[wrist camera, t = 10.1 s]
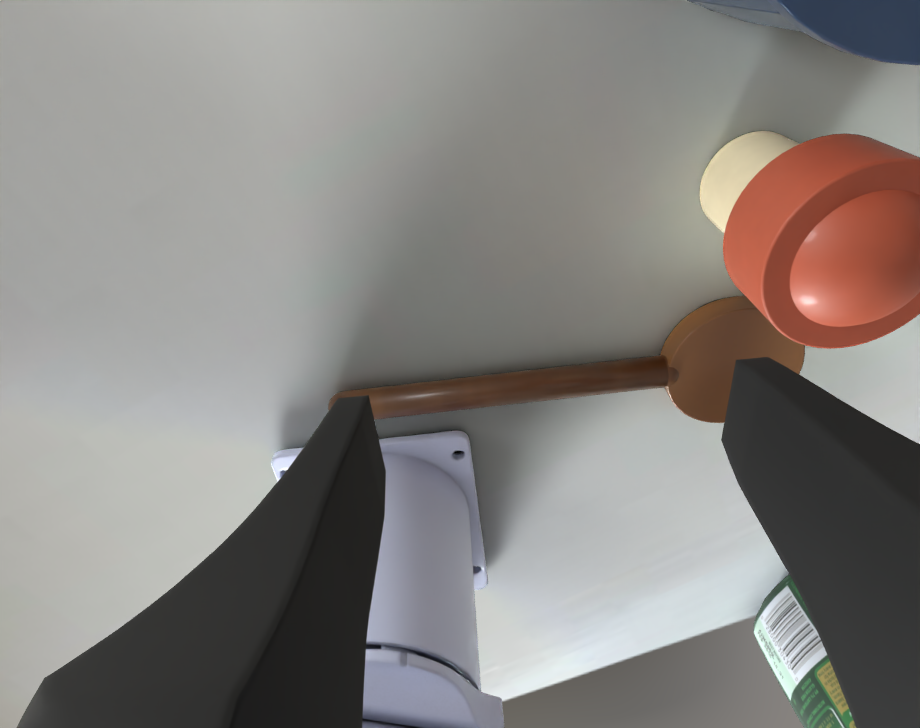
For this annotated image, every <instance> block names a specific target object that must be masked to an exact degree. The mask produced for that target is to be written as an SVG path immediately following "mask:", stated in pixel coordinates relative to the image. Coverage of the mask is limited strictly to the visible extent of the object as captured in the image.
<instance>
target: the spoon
mask: <svg viewBox="0 0 920 728" xmlns="http://www.w3.org/2000/svg"><path fill="white" fill-rule="evenodd" d="M804 355H805V346H804V345H803V344H800V343H797V342H795V341H793V340H791V339H789V338H787V337H786V336H784V335H783V334H782V333H780V332H779V331H778V330H777V329H776V328H775V327H774V326H773V325H772V324H771V323H770V322H769V320H768V319H767V318H766V317H765V316H764V315H763V314H762V313H761V312H760V311H759V310H758V309H757V308H756V307H755V306H754V305H753V304H752V302H751V301H750V300H749V299H748V298H747V297H746V296H736V297H728V298H723V299H720V300H716V301H713V302H711V303H708V304H706V305H704V306H702V307H700V308H698V309H696V310H695V311H693V312H692V313H690V314H689V315H688V316H686V317H685V318H684V319H683V320H682V321H681V322H680V323H679V324H678V325H677V326H676V327H675V328H674V329H673V331H672V332H671V333H670V335H669V336H668V338H667V339H666V341H665V343H664V345H663V348H662V351H661V354H660V355H658V356H649V357H640V358H632V359H623V360H614V361H605V362H596V363H587V364H579V365H570V366H561V367H552V368H543V369H534V370H526V371H517V372H508V373H499V374H490V375H481V376H473V377H464V378H455V379H446V380H437V381H429V382H420V383H411V384H402V385H393V386H384V387H376V388H367V389H358V390H349V391H341V392H338V393H336V394H335V395H334V396H333V397H332V398H331V399H330V401H329V405H328V410H330V408H331V407H332V405H333V404H334V403H335V402H336V400H337V399H338V398H345V397H355V396H366V395H369V399H370V403H371V408H372V412H373V416H374V420H376V419H385V418H394V417H403V416H412V415H421V414H430V413H439V412H448V411H457V410H466V409H475V408H483V407H492V406H501V405H510V404H519V403H528V402H537V401H546V400H555V399H564V398H573V397H582V396H591V395H600V394H609V393H618V392H627V391H635V390H644V389H653V388H662V387H665V389H666V391H667V393H668V395H669V397H670V398H671V400H672V402H673V403H674V404H675V406H676V407H677V408H678V409H679V410H680V411H682V412H683V413H684V414H686V415H688V416H690V417H692V418H694V419H697V420H700V421H704V422H711V423H724V422H725V417H726V412H727V406H728V401H729V395H730V390H731V384H732V379H733V373H734V368H735V363H736V360H740V359H750V358H761V357H769V358H771V359H773V360H775V361H777V362H778V363H780V364H782V365H784V366H785V367H787V368H789V369H790V370H792V371H794V372H795V373H797V374H799V373H800V371H801V369H802V365H803V362H804Z"/></svg>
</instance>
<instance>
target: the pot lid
mask: <svg viewBox="0 0 920 728" xmlns="http://www.w3.org/2000/svg"><path fill="white" fill-rule="evenodd" d="M767 1H768V2H769V3H770V4H771V5H772V6H773V7H774V8H775V9H776V10H777V11H778V12H779V13H780V14H781V15H782V16H783V17H784V18H785V19H786V20H788V21H789V22H790V23H792V24H793V25H795V26H796V27H797V28H799V29H800V30H802V31H803V32H805V33H806V34H807V35H809V36H810V37H812V38H813V39H816V40H818V41H820V42H822V43H824V44H826V45H828V46H831V47H833V48H835V49H837V50H839V51H842V52H845V53H849V54H853V55H857V56H861V57H864V58H868V59H872V60H876V61H881V62H888V63H898V64H909V65H920V0H767Z"/></svg>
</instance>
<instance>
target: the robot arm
mask: <svg viewBox="0 0 920 728" xmlns="http://www.w3.org/2000/svg"><path fill="white" fill-rule="evenodd" d="M721 440H722V443H723V445H724V448H725V451H726V453H727V456H728V459H729V461H730V464H731V467H732V469H733V471H734V474H735V476H736V479H737V481H738V484H739V486H740V487H741V489H742V491H743V493H744V495H745V497H746V498H747V500H748V502H749V504H750V506H751V507H752V509H753V511H754V513H755V515H756V516H757V518H758V520H759V522H760V523H761V525H762V527H763V529H764V530H765V532H766V534H767V536H768V537H769V539H770V541H771V543H772V544H773V546H774V548H775V550H776V552H777V553H778V555H779V557H780V559H781V560H782V562H783V564H784V566H785V567H786V569H787V571H788V573H789V574H790V576H791V578H792V580H793V581H794V583H795V585H796V587H797V589H798V591H799V593H800V595H801V597H802V599H803V601H804V603H805V605H806V607H807V609H808V612H809V614H810V616H811V619H812V621H813V623H814V625H815V628H816V630H817V632H818V635H819V637H820V639H821V641H822V644H823V646H824V648H825V651H826V653H827V655H828V658H829V660H830V663H831V665H832V668H833V670H834V673H835V675H836V678H837V680H838V682H839V685H840V687H841V690H842V692H843V695H844V697H845V700H846V702H847V705H848V707H849V710H850V713H851V715H852V718H853V721H854V723H855V726H856V728H920V444H918V443H916V442H914V441H912V440H910V439H908V438H906V437H905V436H903V435H901V434H899V433H897V432H895V431H893V430H891V429H890V428H888V427H886V426H884V425H882V424H881V423H879V422H877V421H875V420H874V419H872V418H870V417H868V416H867V415H865V414H863V413H861V412H860V411H858V410H856V409H855V408H853V407H851V406H850V405H848V404H846V403H845V402H843V401H841V400H840V399H838V398H836V397H835V396H833V395H831V394H830V393H828V392H826V391H825V390H823V389H822V388H820V387H818V386H817V385H815V384H813V383H812V382H810V381H809V380H807V379H805V378H804V377H802V376H800V375H799V374H797V373H795V372H794V371H792V370H790V369H789V368H787V367H785V366H784V365H782V364H780V363H778V362H777V361H775V360H773V359H771V358H769V357H761V358H750V359H740V360H736V363H735V368H734V373H733V379H732V384H731V390H730V395H729V401H728V406H727V412H726V417H725V423H724V428H723V434H722V439H721ZM457 450H460V451H463V453H460V454H456V453H454V452H455V451H457ZM271 464H272V468H273V471H274V473H275V476H276V479H277V483H276V484H275V486H274V487H273V488H272V489H271V490H270V492H269V493H268V494H267V495H266V497H265V498H264V499H263V500H262V501H261V503H260V504H259V505H258V506H257V507H256V508H255V510H254V511H253V512H252V513H251V514H250V515H249V516H248V517H247V518H246V520H245V521H244V522H243V523H242V524H241V525H240V526H239V527H238V528H237V529H236V530H235V531H234V532H233V533H232V534H231V535H230V536H229V537H228V538H227V539H226V540H225V541H224V542H223V543H222V544H221V545H220V546H219V547H218V548H217V549H216V550H215V551H214V552H213V553H211V554H210V555H209V556H208V557H207V558H206V559H205V560H204V561H202V562H201V563H200V564H199V565H198V566H197V567H196V568H194V569H193V570H192V571H191V572H190V573H189V574H188V575H187V576H185V577H184V578H183V579H182V580H181V581H180V582H179V583H178V584H176V585H175V586H174V587H173V588H171V589H170V590H169V591H168V592H167V593H165V594H164V595H163V596H161V597H160V598H159V599H158V600H156V601H155V602H154V603H153V604H151V605H150V606H149V607H147V608H146V609H145V610H143V611H142V612H141V613H139V614H138V615H137V616H135V617H134V618H133V619H131V620H130V621H129V622H127V623H126V624H125V625H123V626H122V627H121V628H119V629H118V630H116V631H115V632H114V633H112V634H111V635H109V636H108V637H106V638H105V639H103V640H102V641H100V642H99V643H97V644H96V645H94V646H93V647H91V648H90V649H88V650H87V651H85V652H84V653H82V654H81V655H79V656H78V657H76V658H75V659H73V660H72V661H70V662H69V663H67V664H66V665H64V666H63V667H61V668H60V669H58V670H57V671H55V672H54V673H52V674H50V675H49V676H47V677H46V678H44V680H43V682H42V683H41V685H40V686H39V688H38V690H37V692H36V693H35V695H34V697H33V698H32V700H31V702H30V704H29V705H28V707H27V709H26V711H25V713H24V715H23V716H22V718H21V720H20V722H19V724H18V726H17V728H504V718H503V708H502V699H501V698H499V697H496V696H492V695H488V694H486V693H483V692H481V683H480V668H479V653H478V638H477V624H476V609H475V594H474V590H479V589H483V588H484V587H486V586H487V584H488V575H487V568H486V560H485V553H484V545H483V538H482V530H481V523H480V515H479V508H478V500H477V493H476V485H475V478H474V470H473V463H472V455H471V447H470V440H469V437H468V435H467V434H466V433H465V432H462V431H447V432H438V433H429V434H420V435H411V436H402V437H393V438H384V439H379V438H378V434H377V430H376V425H375V421H374V416H373V412H372V408H371V403H370V399H369V395H366V396H355V397H345V398H338V399H337V400H336V402H335V403H334V404H333V405H332V407H331V408H330V410H329V411H328V413H327V414H326V416H325V417H324V419H323V420H322V422H321V423H320V425H319V426H318V428H317V429H316V431H315V432H314V434H313V435H312V436H311V438H310V439H309V441H308V442H307V444H306V445H305V446H304V447H303V448H294V449H285V450H280V451H277V452H276V453H275V454H274V456H273V458H272V461H271ZM285 469H287V471H284V470H285Z"/></svg>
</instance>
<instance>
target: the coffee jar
mask: <svg viewBox="0 0 920 728" xmlns="http://www.w3.org/2000/svg"><path fill="white" fill-rule="evenodd" d="M754 635H755V638H756V640H757V642H758V644H759V646H760V648H761V650H762V652H763V654H764V656H765V658H766V660H767V662H768V664H769V666H770V668H771V670H772V671H773V673H774V675H775V677H776V679H777V681H778V683H779V684H780V686H781V688H782V690H783V691H784V693H785V695H786V697H787V699H788V700H789V702H790V704H791V706H792V708H793V709H794V711H795V713H796V714H797V716H798V718H799V720H800V722H801V723H802V725H803V727H804V728H856V726H855V723H854V721H853V718H852V715H851V713H850V710H849V707H848V705H847V702H846V700H845V697H844V695H843V692H842V690H841V687H840V685H839V682H838V680H837V678H836V675H835V673H834V670H833V668H832V665H831V663H830V660H829V658H828V655H827V653H826V651H825V648H824V646H823V644H822V641H821V639H820V637H819V635H818V632H817V630H816V628H815V625H814V623H813V621H812V619H811V616H810V614H809V612H808V609H807V607H806V605H805V603H804V601H803V599H802V597H801V595H800V593H799V591H798V589H797V587H796V585H795V583H794V581H793V580H792V578H791V576H790V575H788V576H787V577H786V578H785V579H783V580H782V581H781V582H780V583H779V584H778V585H777V586H776V587H775V588H774V589H773V590H772V591H771V593H770V594H769V595H768V596H767V597H766V599H765V600H764V602H763V604H762V606H761V608H760V610H759V612H758V614H757V616H756V619H755V622H754Z"/></svg>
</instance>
